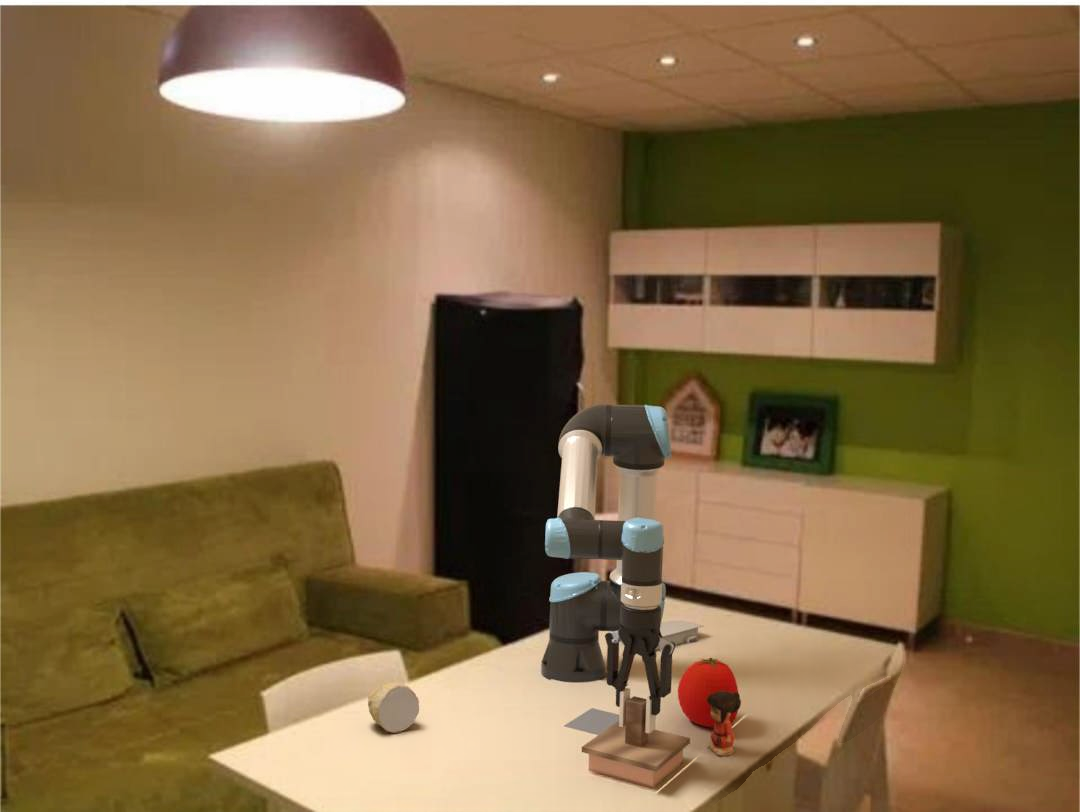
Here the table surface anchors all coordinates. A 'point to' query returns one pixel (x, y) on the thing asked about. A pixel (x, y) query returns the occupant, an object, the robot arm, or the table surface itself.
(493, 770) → the table surface
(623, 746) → the lid
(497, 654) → the table surface
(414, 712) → the cream grey rounded piece
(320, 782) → the table surface
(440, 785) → the table surface
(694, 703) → the tomato
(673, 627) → the book
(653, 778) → the dish
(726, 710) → the figurine
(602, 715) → the mat
